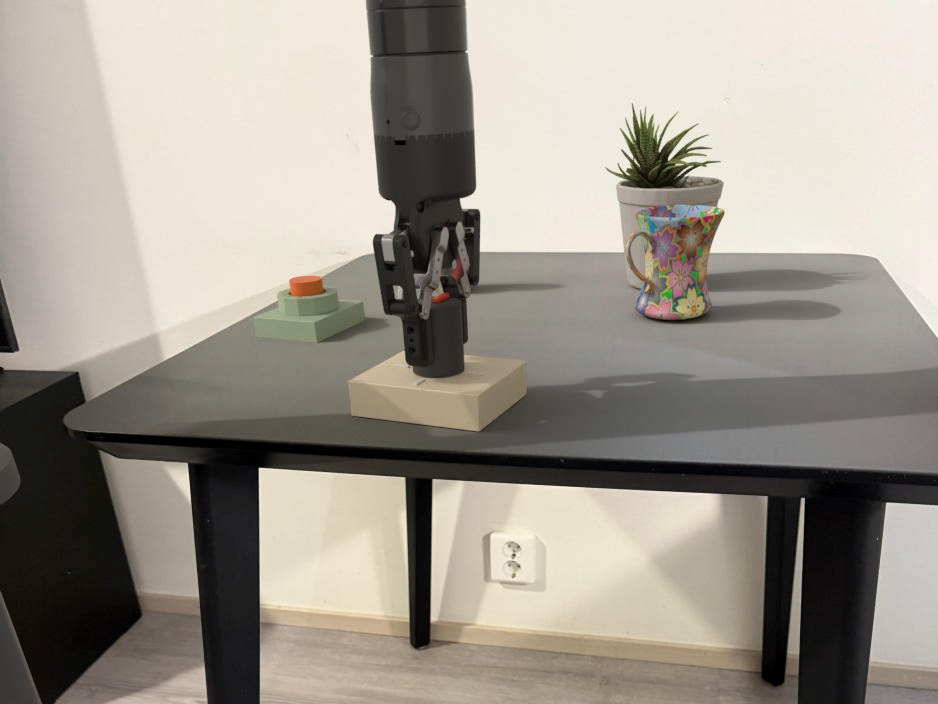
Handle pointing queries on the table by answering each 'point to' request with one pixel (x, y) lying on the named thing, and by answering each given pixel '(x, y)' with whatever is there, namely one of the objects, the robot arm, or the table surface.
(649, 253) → the mug
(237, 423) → the table surface
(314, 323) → the button block
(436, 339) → the dial
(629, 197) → the potted plant
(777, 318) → the table surface
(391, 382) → the panel
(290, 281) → the button
